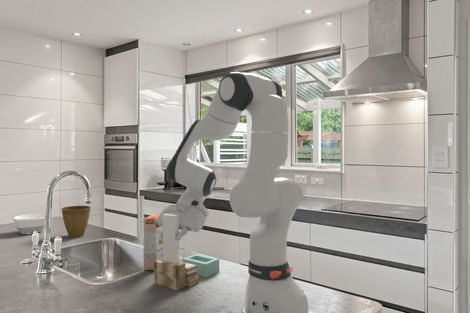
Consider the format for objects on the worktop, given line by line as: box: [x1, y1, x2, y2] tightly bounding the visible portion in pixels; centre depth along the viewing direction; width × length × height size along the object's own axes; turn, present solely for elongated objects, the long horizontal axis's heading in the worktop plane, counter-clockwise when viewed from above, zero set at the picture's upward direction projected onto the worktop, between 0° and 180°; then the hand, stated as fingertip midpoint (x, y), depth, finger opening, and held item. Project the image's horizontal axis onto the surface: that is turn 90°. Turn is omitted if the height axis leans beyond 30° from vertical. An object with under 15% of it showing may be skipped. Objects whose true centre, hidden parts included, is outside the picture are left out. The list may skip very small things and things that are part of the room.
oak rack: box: [153, 258, 187, 291], centre depth 131 cm, size 11×4×8 cm, turn 54°
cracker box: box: [143, 212, 164, 271], centre depth 153 cm, size 14×6×21 cm, turn 168°
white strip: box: [163, 214, 180, 265], centre depth 131 cm, size 6×2×20 cm, turn 54°
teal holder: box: [182, 253, 220, 278], centre depth 145 cm, size 12×8×5 cm, turn 54°
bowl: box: [12, 213, 46, 235], centre depth 216 cm, size 18×18×9 cm
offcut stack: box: [180, 261, 200, 287], centre depth 135 cm, size 14×5×6 cm, turn 54°
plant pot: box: [61, 205, 91, 238], centre depth 205 cm, size 15×15×16 cm
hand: (169, 237), depth 131 cm, fingers closed on white strip, 6 cm apart
